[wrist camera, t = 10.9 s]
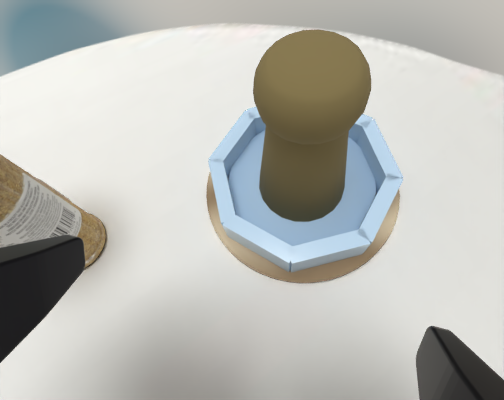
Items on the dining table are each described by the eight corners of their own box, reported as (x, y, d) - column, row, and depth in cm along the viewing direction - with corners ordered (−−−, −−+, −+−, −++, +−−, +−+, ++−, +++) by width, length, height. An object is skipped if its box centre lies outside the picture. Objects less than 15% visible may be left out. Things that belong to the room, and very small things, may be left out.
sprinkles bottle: (79, 205, 25) (-110, 73, 13) (120, 234, 24) (-48, 118, 12) (35, 253, 24) (-220, 156, 12) (76, 287, 23) (-166, 216, 10)
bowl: (413, 241, 21) (429, 228, 19) (238, 286, 21) (232, 278, 19) (349, 104, 27) (355, 82, 24) (207, 140, 26) (199, 120, 24)
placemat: (432, 253, 21) (435, 251, 21) (227, 306, 21) (226, 305, 21) (356, 96, 27) (356, 92, 27) (194, 136, 27) (193, 133, 27)
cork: (348, 151, 24) (393, 10, 14) (340, 228, 21) (388, 124, 11) (267, 142, 25) (255, 4, 15) (251, 214, 22) (224, 107, 12)
